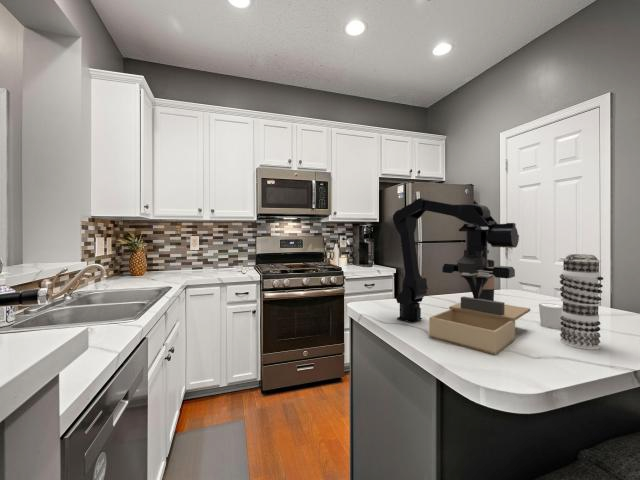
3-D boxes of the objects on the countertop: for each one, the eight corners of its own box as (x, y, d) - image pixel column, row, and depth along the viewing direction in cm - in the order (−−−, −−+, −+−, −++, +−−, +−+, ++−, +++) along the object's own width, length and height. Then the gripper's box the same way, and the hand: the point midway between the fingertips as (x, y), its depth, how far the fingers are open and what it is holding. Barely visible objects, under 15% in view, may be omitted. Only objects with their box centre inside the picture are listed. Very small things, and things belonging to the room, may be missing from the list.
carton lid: (449, 309, 99) (449, 296, 99) (470, 301, 110) (470, 289, 110) (514, 321, 86) (514, 306, 85) (530, 310, 97) (530, 297, 97)
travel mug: (468, 307, 126) (469, 259, 125) (481, 305, 129) (481, 258, 128) (485, 311, 119) (486, 261, 118) (498, 309, 122) (498, 260, 121)
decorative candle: (577, 337, 90) (578, 253, 89) (611, 349, 80) (613, 255, 80) (550, 338, 88) (551, 253, 88) (581, 351, 79) (583, 256, 79)
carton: (429, 337, 90) (429, 317, 90) (453, 326, 101) (453, 308, 101) (495, 355, 77) (495, 331, 77) (515, 340, 87) (515, 319, 87)
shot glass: (553, 330, 96) (554, 308, 96) (533, 324, 103) (533, 303, 103) (569, 328, 98) (570, 306, 98) (548, 322, 105) (549, 302, 105)
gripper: (433, 246, 92) (433, 297, 92) (502, 248, 78) (501, 308, 78) (450, 245, 99) (450, 292, 99) (515, 247, 85) (515, 302, 85)
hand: (476, 298), depth 90 cm, fingers closed
